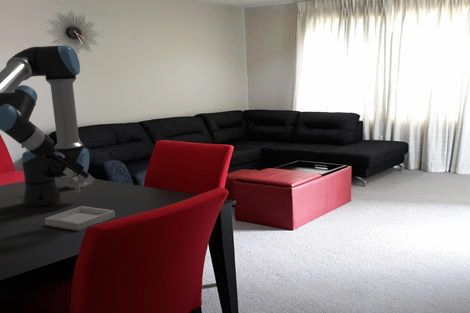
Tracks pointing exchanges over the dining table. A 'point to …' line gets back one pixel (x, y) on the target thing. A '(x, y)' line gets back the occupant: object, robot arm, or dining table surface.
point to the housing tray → (79, 218)
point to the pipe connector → (73, 181)
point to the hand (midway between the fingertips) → (84, 180)
